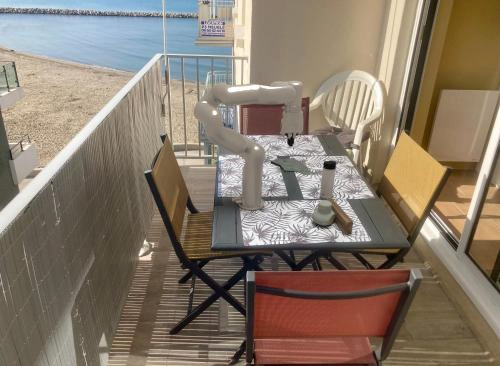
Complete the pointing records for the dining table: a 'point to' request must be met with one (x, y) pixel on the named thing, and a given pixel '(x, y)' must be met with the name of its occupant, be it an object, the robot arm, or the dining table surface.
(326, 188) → the travel mug
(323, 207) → the air freshener
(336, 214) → the board
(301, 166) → the decorative slab
